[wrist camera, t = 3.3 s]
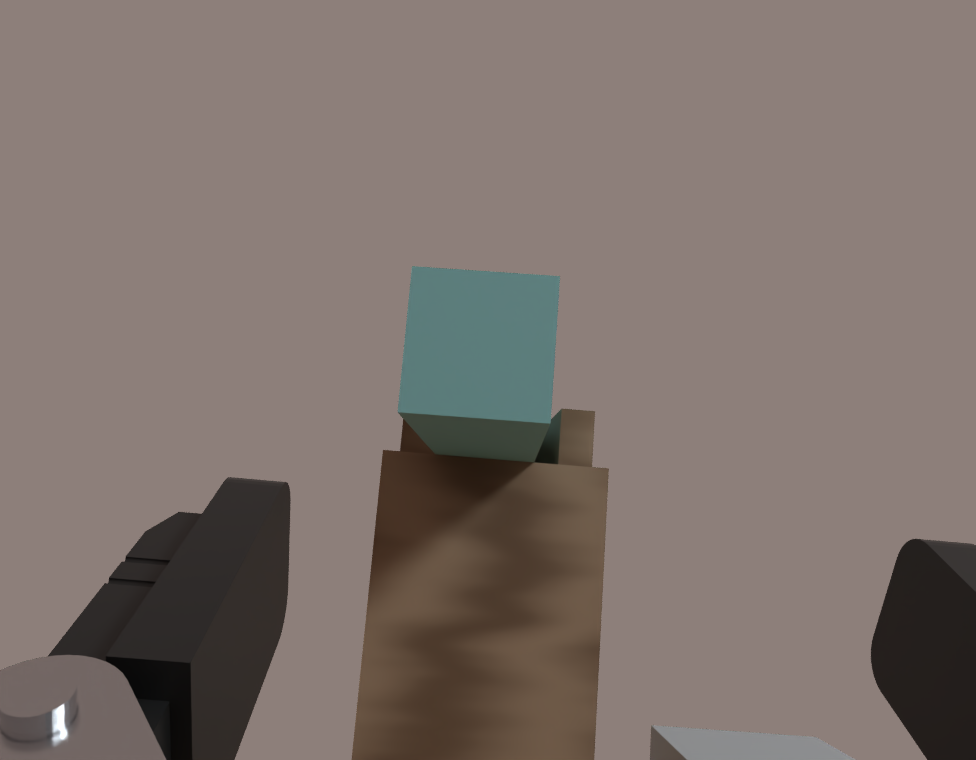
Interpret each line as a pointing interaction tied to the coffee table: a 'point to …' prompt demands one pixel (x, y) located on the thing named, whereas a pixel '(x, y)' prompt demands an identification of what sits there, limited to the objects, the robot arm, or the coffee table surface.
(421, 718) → the post
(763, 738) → the tall gray pillar
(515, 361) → the bar
